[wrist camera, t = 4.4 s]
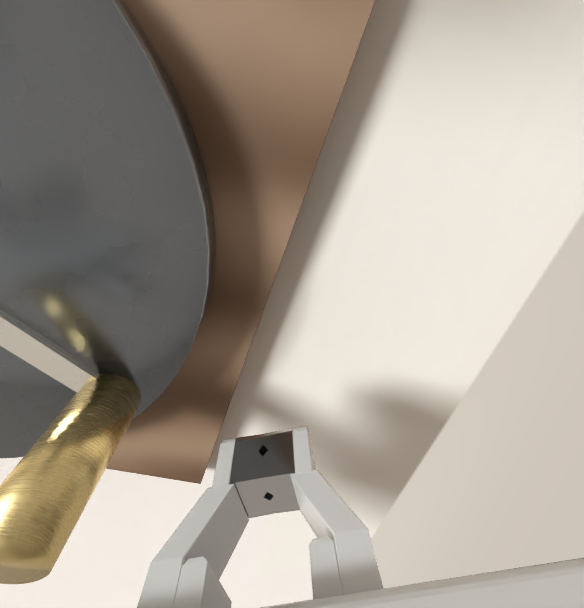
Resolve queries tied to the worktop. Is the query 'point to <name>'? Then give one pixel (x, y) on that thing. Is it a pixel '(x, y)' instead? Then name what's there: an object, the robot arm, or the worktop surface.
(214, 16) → the stand plate
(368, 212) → the worktop surface
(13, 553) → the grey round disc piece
